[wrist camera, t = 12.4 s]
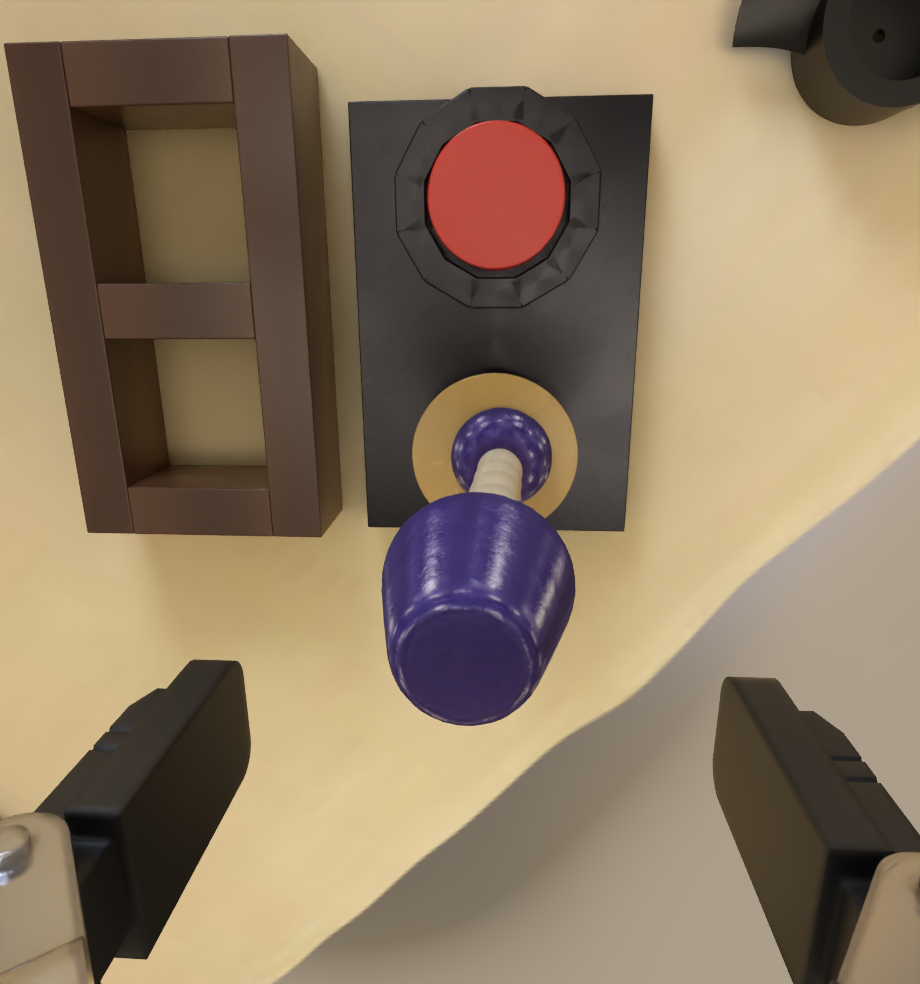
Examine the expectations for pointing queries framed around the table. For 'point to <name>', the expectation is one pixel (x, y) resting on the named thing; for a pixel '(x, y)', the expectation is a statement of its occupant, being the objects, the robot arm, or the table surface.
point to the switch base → (501, 288)
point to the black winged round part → (842, 52)
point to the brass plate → (482, 395)
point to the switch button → (496, 195)
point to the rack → (183, 306)
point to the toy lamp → (479, 579)
